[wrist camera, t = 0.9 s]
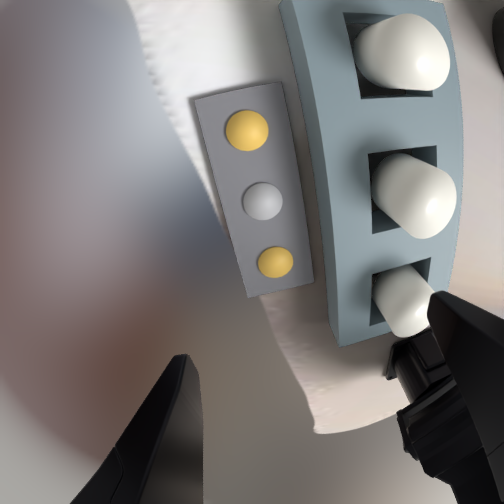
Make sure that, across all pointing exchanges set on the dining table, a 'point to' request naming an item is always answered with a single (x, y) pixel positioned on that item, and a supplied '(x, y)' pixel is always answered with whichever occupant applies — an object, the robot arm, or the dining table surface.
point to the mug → (499, 36)
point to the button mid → (414, 194)
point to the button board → (356, 155)
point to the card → (258, 185)
